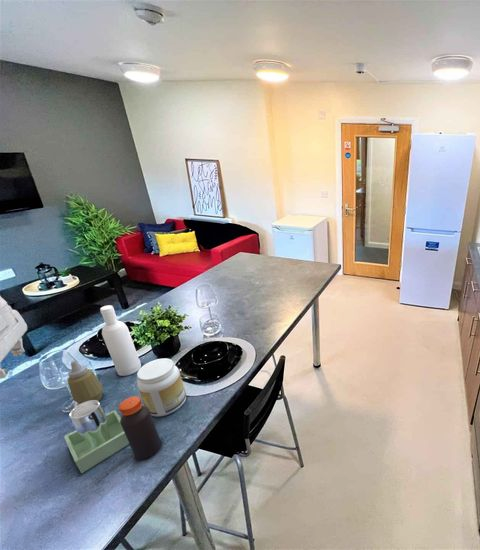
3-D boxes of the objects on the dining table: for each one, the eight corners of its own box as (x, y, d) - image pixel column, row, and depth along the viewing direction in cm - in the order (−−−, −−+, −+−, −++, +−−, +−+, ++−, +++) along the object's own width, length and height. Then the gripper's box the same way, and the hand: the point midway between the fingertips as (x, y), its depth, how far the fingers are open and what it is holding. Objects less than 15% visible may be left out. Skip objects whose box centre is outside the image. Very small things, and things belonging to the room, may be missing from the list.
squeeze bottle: (102, 388, 111) (85, 350, 103) (109, 398, 106) (92, 360, 99) (73, 401, 105) (53, 362, 97) (80, 413, 100) (59, 373, 93)
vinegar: (138, 443, 91) (118, 397, 83) (163, 436, 94) (146, 390, 86) (132, 463, 86) (110, 416, 77) (159, 455, 88) (141, 408, 80)
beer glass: (114, 429, 95) (99, 395, 89) (117, 443, 90) (101, 409, 84) (86, 442, 90) (67, 408, 84) (87, 458, 86) (68, 423, 80)
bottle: (144, 368, 121) (122, 307, 108) (120, 379, 115) (95, 315, 103) (137, 360, 125) (116, 300, 113) (115, 369, 119) (89, 307, 107)
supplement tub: (190, 388, 112) (180, 353, 105) (182, 413, 102) (171, 376, 95) (153, 395, 109) (140, 359, 102) (141, 422, 98) (127, 384, 91)
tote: (81, 473, 83) (74, 462, 81) (70, 447, 89) (63, 436, 87) (133, 441, 92) (129, 430, 90) (120, 420, 99) (115, 409, 97)
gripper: (-12, 303, 76) (12, 345, 82) (-64, 348, 60) (-30, 396, 66) (22, 298, 79) (43, 339, 85) (-19, 339, 63) (10, 386, 69)
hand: (11, 365), depth 75 cm, fingers open, 8 cm apart
